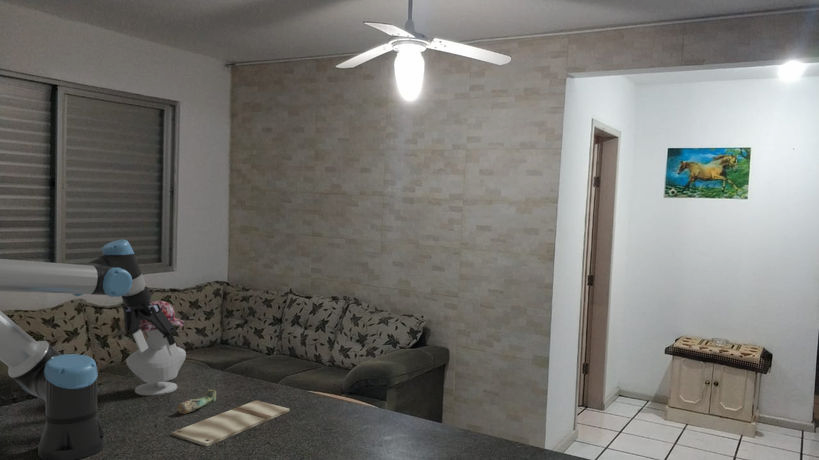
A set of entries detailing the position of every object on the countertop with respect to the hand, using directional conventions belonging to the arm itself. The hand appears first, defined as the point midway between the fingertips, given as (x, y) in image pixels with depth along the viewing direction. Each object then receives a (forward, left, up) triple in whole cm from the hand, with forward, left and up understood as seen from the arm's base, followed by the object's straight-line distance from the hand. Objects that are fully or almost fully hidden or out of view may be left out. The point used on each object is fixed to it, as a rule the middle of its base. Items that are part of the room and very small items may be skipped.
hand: (159, 351), depth 194 cm
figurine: (+6, -10, -18) cm, 21 cm away
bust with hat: (+10, +13, -17) cm, 24 cm away
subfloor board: (+3, -29, -17) cm, 34 cm away
